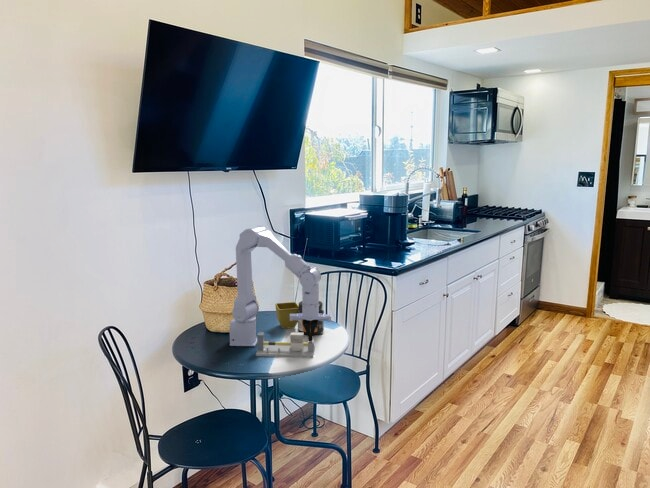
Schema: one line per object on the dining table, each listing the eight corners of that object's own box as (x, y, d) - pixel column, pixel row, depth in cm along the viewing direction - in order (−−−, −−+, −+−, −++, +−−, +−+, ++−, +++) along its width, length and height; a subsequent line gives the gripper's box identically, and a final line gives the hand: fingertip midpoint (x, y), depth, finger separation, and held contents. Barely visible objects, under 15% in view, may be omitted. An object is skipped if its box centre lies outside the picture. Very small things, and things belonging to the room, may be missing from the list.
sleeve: (290, 350, 173) (290, 335, 172) (291, 347, 176) (291, 332, 175) (303, 350, 173) (302, 335, 172) (303, 347, 176) (303, 332, 175)
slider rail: (255, 356, 171) (255, 338, 170) (260, 346, 180) (260, 329, 179) (313, 357, 170) (313, 339, 169) (315, 347, 179) (315, 330, 178)
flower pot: (300, 329, 199) (300, 307, 197) (279, 331, 197) (278, 309, 195) (295, 322, 207) (295, 301, 206) (275, 324, 205) (275, 303, 203)
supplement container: (294, 335, 191) (293, 305, 189) (301, 326, 202) (301, 298, 200) (320, 337, 189) (320, 307, 187) (326, 328, 199) (326, 300, 197)
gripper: (288, 305, 168) (288, 343, 170) (330, 306, 167) (330, 344, 170) (290, 300, 175) (291, 336, 177) (331, 300, 174) (331, 337, 176)
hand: (310, 340), depth 174 cm, fingers closed
